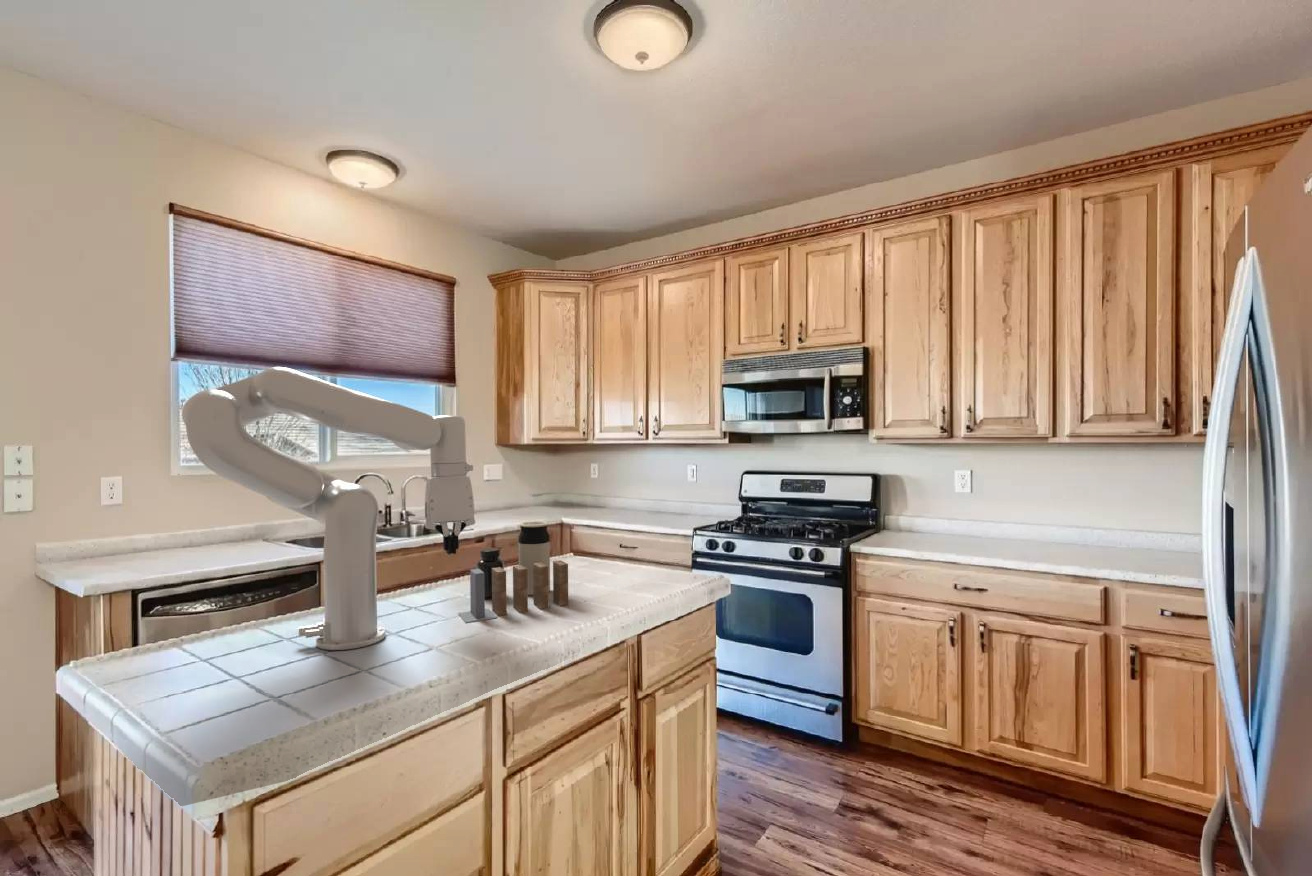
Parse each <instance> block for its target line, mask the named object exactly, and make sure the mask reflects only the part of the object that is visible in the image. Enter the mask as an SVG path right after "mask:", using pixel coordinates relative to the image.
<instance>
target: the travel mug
mask: <svg viewBox="0 0 1312 876" xmlns="http://www.w3.org/2000/svg"><path fill="white" fill-rule="evenodd" d="M548 525H549V522H547V521H541V520H537V521H536V520H534V521H533V520H532V521H531V520H530V521H524V522H520V523H519V527H520V533H519V534H518V536H517V537H518V539H517V540H518V565H522V566H524V567H525V568H527V580H528V596H534V590H533V563H543V564H545V565H547V566H548V593H549V592H550V591H551V555H550V554H551V552H550V551H551V547H550V545H551V542H550V538H551V537H550V534H549V532H548Z"/></svg>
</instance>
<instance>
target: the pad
mask: <svg viewBox="0 0 1312 876" xmlns="http://www.w3.org/2000/svg"><path fill="white" fill-rule="evenodd" d="M457 614H458V616H459V617H460V618H461V620H463V622H464V623H465V624H468V623H473V622H475V623H476V622H480V621H487V620H494V619H498V616H497V615H496V614H495V613H494V612H493V611H492V610H491V609H490V608H485V617H483V618H475V617H474V616H473V615H472V614H471V610H470V611H463V612H458V613H457Z"/></svg>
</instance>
